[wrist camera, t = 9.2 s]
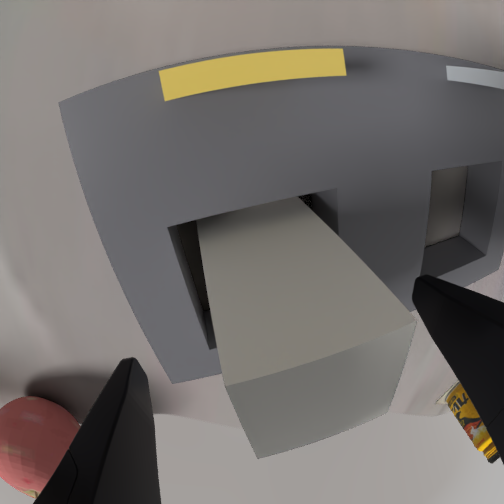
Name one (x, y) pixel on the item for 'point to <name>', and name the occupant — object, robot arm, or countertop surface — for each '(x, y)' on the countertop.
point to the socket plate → (287, 168)
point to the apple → (33, 442)
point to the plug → (299, 325)
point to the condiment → (469, 420)
